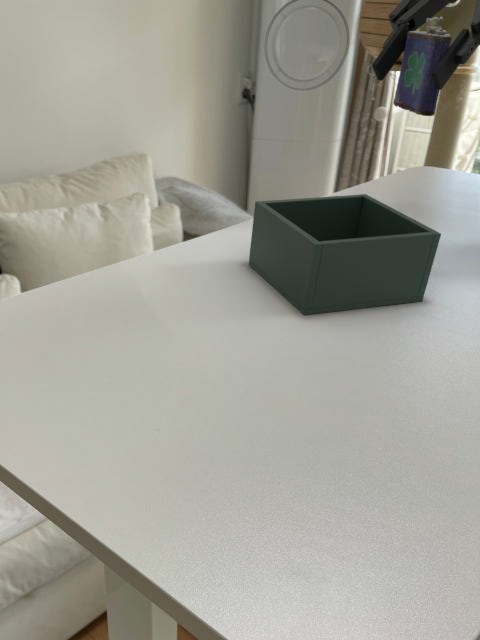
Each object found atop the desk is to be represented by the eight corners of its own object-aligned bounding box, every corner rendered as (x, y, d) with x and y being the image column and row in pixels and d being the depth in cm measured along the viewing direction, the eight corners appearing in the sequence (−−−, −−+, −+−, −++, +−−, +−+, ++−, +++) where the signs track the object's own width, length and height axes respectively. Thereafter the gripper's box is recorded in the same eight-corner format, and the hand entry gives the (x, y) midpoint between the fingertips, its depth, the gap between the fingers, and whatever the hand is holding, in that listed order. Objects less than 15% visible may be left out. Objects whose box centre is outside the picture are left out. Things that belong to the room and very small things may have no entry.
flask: (389, 104, 91) (408, 14, 85) (409, 104, 92) (429, 14, 86) (419, 116, 84) (442, 18, 78) (441, 116, 84) (465, 19, 78)
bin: (353, 254, 83) (365, 193, 79) (422, 301, 72) (441, 233, 67) (248, 264, 79) (255, 201, 75) (303, 315, 68) (315, 244, 64)
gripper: (434, -96, 87) (332, 46, 88) (597, -106, 73) (474, 63, 74) (446, -45, 92) (350, 87, 94) (600, -46, 79) (485, 110, 80)
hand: (405, 76), depth 84 cm, fingers closed on flask, 8 cm apart
